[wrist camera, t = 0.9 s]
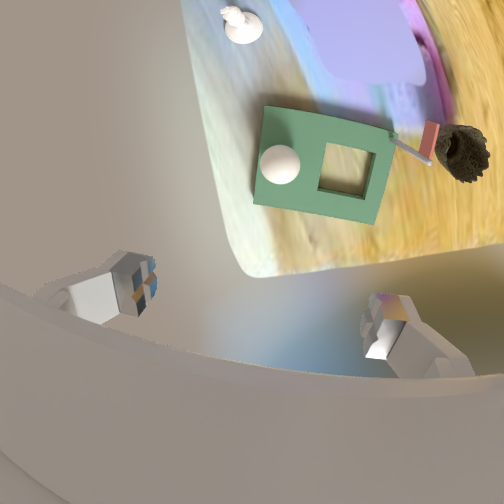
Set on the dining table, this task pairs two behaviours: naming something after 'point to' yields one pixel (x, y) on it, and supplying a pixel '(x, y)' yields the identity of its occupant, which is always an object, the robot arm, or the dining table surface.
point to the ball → (280, 164)
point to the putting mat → (311, 158)
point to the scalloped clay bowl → (462, 152)
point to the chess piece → (241, 25)
